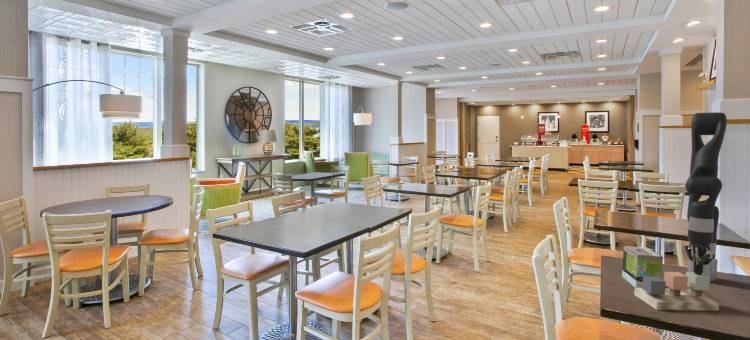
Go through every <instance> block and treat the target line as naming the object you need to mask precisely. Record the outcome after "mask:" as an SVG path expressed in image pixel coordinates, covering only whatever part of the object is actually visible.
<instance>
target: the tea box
mask: <svg viewBox="0 0 750 340" xmlns="http://www.w3.org/2000/svg"><path fill="white" fill-rule="evenodd" d="M622 254H623V255H622V273H621V277H622V278H623V279H624V280H625V281H626V282H628V283H629V284H630V285H631V286H632V287H634V289H635V288H643V276H657V277H659V278H661V279H662V278H663V276H662V275H663V263H664V256H663V255H661V254H660V253H658V252H656V251H655V250H653V249H651V248H649V247H647V246H646V247H645V246H634V245H633V246H632V245H631V246H630V245H624V246H623V253H622Z"/></svg>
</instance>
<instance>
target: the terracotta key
mask: <svg viewBox="0 0 750 340" xmlns="http://www.w3.org/2000/svg"><path fill="white" fill-rule="evenodd" d="M663 280H664V281H666V285H665V287H666V288H671V289H672V290H687V288H688V286H687V284H688V276H686V274H683V273H682V272H679V271H664V274H663Z"/></svg>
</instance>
